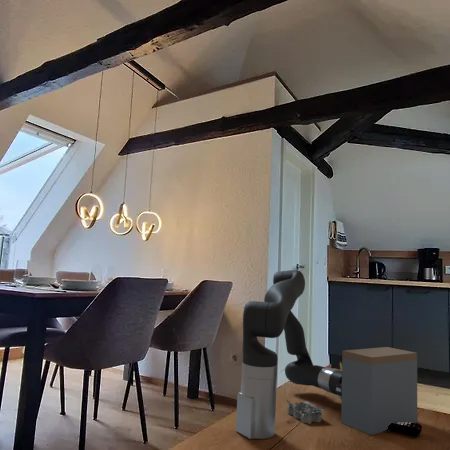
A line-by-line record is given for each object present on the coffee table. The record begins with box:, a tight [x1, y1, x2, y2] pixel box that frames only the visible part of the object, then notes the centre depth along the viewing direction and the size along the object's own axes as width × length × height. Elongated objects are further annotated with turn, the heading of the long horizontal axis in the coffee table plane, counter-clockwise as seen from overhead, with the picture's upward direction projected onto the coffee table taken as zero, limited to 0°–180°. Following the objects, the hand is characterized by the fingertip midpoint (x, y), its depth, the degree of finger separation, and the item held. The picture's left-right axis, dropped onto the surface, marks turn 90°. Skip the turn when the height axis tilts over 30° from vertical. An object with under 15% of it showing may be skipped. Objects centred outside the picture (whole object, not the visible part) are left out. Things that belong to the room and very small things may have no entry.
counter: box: [340, 346, 418, 436], centre depth 118 cm, size 22×10×20 cm, turn 125°
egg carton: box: [285, 399, 325, 425], centre depth 118 cm, size 11×8×4 cm
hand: (379, 395), depth 118 cm, fingers open, 8 cm apart
